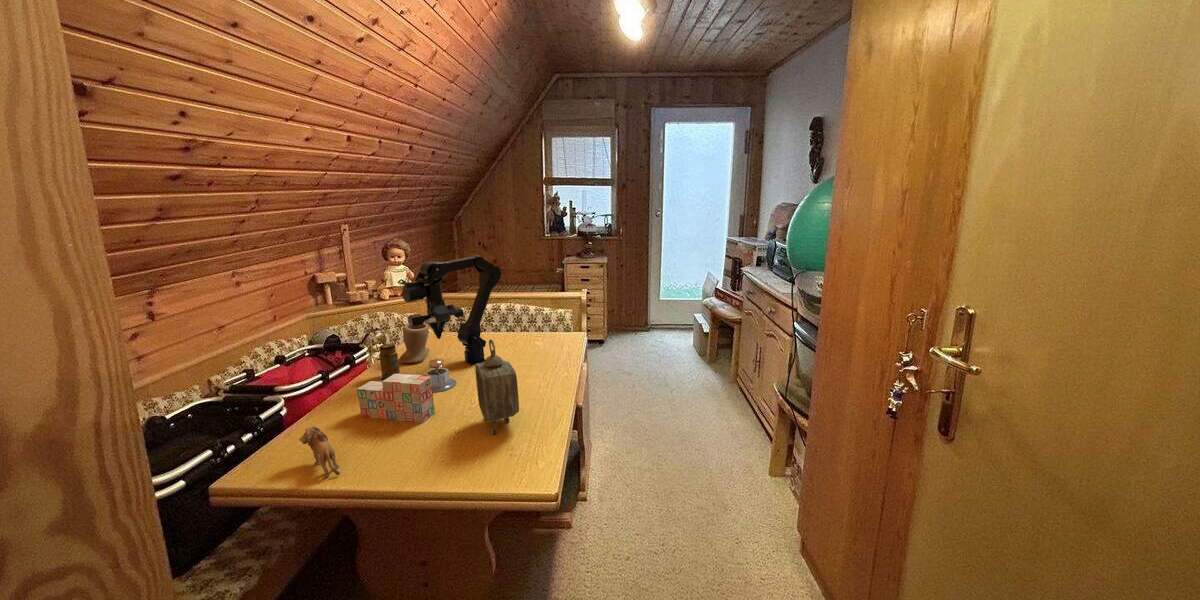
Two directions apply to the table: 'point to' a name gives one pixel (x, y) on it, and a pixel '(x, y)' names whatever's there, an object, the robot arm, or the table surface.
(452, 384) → the coaster
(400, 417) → the stack of blocks
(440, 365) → the plunger
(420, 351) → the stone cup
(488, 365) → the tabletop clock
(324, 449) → the lion figurine
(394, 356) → the condiment
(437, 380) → the carafe
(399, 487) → the table surface
